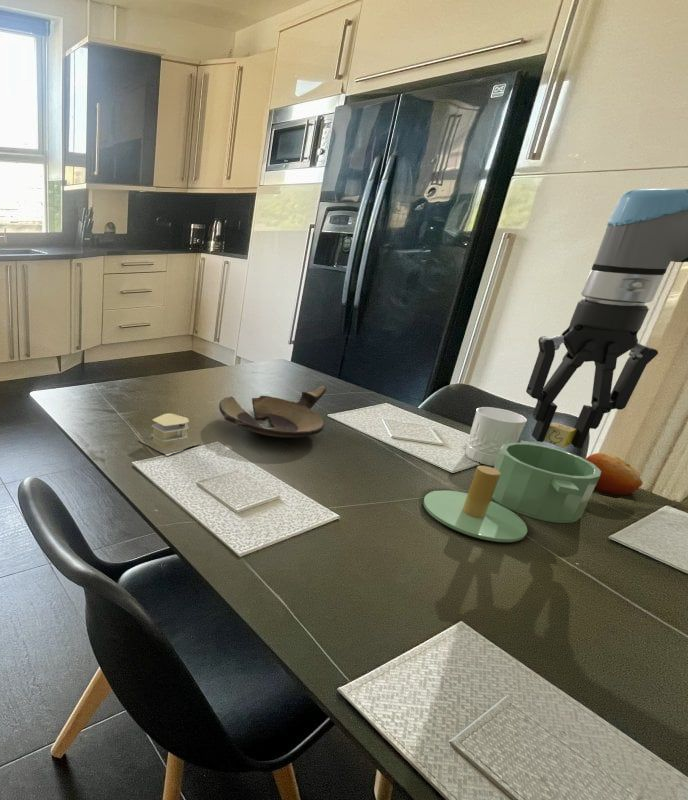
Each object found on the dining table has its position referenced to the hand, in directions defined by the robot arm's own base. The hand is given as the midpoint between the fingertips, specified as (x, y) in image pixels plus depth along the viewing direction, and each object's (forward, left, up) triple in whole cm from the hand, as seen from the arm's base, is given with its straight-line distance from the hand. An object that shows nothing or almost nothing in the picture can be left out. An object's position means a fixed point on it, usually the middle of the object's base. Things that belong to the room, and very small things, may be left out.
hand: (555, 441), depth 81 cm
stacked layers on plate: (+64, +6, -12) cm, 65 cm away
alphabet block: (0, 0, -1) cm, 1 cm away
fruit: (-13, -10, -12) cm, 20 cm away
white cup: (+3, -16, -12) cm, 20 cm away
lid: (+11, +11, -11) cm, 19 cm away
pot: (0, 0, -12) cm, 12 cm away
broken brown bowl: (+43, -12, -12) cm, 46 cm away
